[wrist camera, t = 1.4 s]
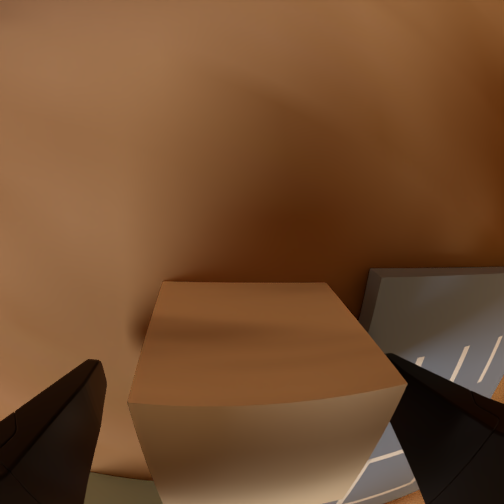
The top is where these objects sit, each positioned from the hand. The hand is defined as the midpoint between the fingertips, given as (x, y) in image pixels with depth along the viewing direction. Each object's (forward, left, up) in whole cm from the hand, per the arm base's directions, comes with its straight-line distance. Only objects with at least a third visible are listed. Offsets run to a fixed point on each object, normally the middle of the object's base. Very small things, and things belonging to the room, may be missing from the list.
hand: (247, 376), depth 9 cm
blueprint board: (-7, -10, -1) cm, 12 cm away
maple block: (0, 0, -1) cm, 1 cm away
